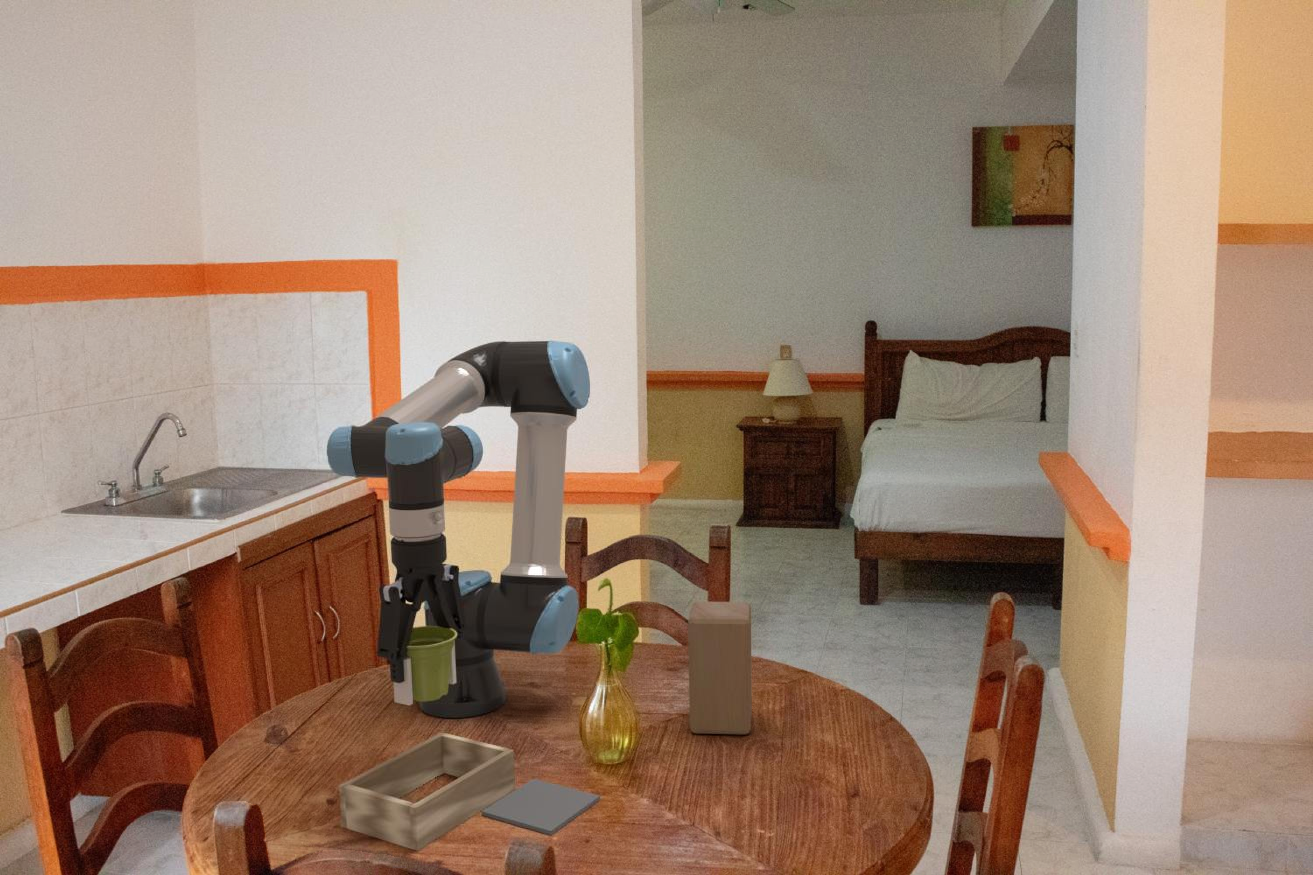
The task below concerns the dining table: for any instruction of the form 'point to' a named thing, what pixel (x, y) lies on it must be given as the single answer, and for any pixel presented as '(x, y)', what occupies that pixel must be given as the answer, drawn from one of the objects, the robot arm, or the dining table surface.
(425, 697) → the plant pot
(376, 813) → the crate
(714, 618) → the wooden block
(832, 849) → the dining table surface
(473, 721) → the dining table surface
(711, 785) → the dining table surface
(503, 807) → the pad
